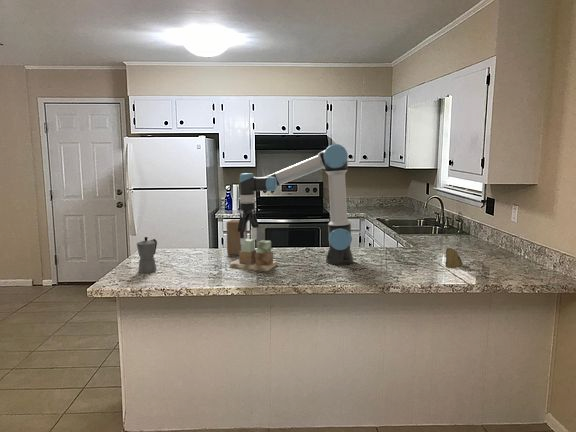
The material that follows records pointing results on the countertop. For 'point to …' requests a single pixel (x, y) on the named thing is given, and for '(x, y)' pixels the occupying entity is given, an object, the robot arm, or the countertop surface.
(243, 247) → the sage block
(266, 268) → the blueprint board
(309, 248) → the countertop surface
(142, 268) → the coffeepot
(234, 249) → the block
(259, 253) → the tower
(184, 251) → the countertop surface
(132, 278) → the countertop surface
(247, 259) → the walnut block
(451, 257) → the rock
